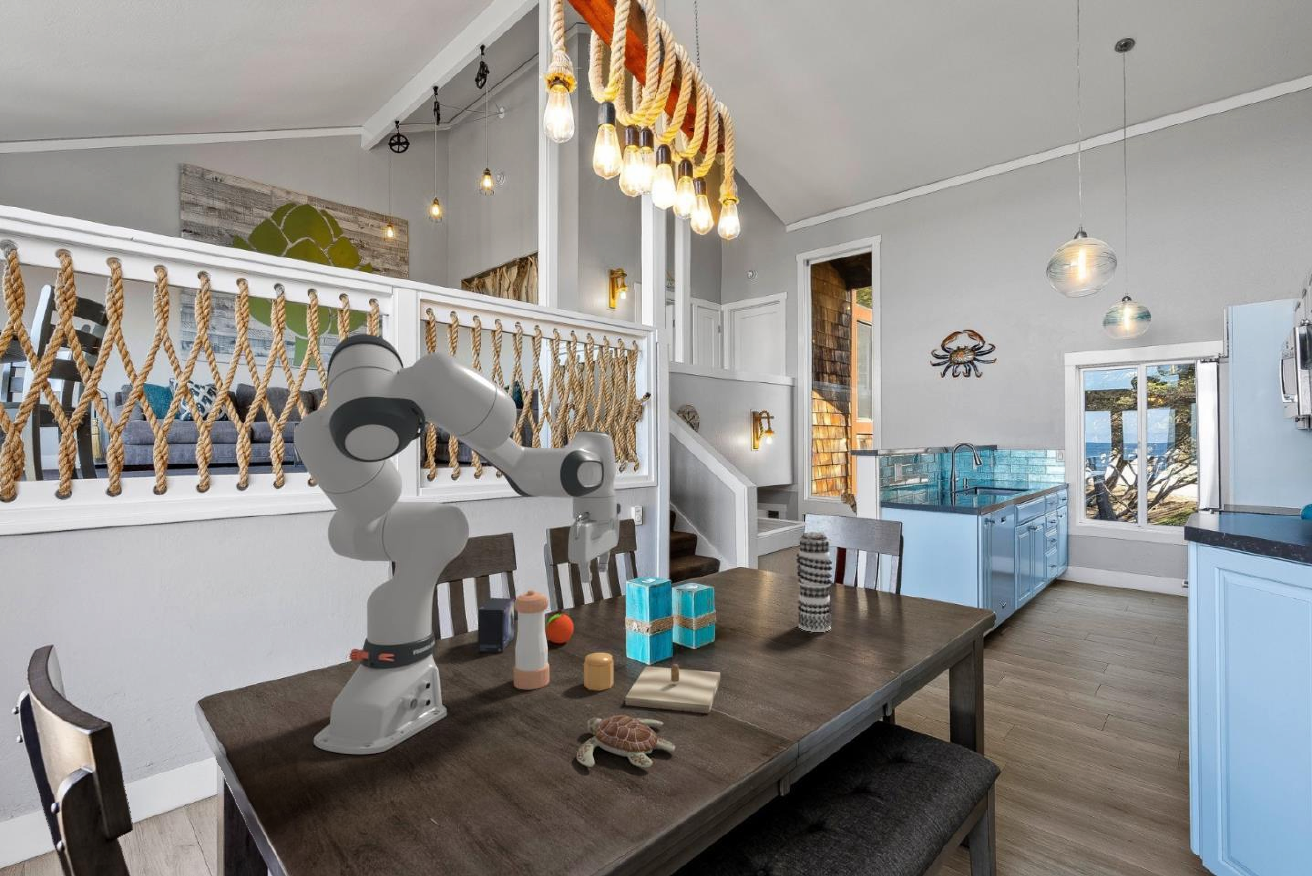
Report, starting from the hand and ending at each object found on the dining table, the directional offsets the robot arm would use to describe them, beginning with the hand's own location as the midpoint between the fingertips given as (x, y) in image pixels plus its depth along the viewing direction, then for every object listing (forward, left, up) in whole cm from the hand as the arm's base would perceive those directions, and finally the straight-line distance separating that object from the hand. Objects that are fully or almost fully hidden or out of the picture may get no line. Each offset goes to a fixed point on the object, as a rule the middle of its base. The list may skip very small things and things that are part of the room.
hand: (594, 576), depth 126 cm
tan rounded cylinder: (0, -1, -22) cm, 22 cm away
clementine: (+22, +17, -22) cm, 36 cm away
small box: (+17, +31, -22) cm, 42 cm away
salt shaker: (-2, +13, -22) cm, 26 cm away
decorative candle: (+48, -45, -22) cm, 69 cm away
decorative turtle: (-23, -13, -23) cm, 35 cm away
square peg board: (0, -17, -22) cm, 28 cm away
